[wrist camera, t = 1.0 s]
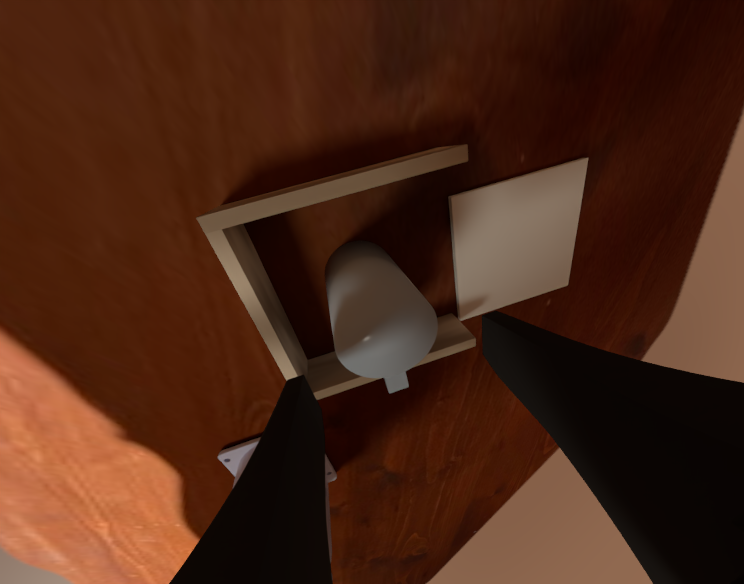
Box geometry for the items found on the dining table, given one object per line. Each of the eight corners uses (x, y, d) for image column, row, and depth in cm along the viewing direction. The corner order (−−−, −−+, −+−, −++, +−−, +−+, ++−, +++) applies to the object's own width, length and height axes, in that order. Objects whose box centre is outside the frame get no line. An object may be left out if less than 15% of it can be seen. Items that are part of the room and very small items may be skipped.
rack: (452, 320, 22) (475, 346, 19) (301, 369, 21) (300, 405, 18) (436, 147, 16) (467, 144, 13) (219, 205, 15) (195, 217, 12)
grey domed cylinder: (314, 252, 17) (318, 310, 10) (385, 231, 17) (431, 274, 11) (344, 336, 20) (361, 419, 14) (402, 317, 21) (446, 390, 14)
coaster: (564, 283, 23) (567, 285, 22) (457, 318, 22) (460, 320, 22) (583, 157, 18) (588, 157, 18) (448, 196, 17) (451, 197, 17)
